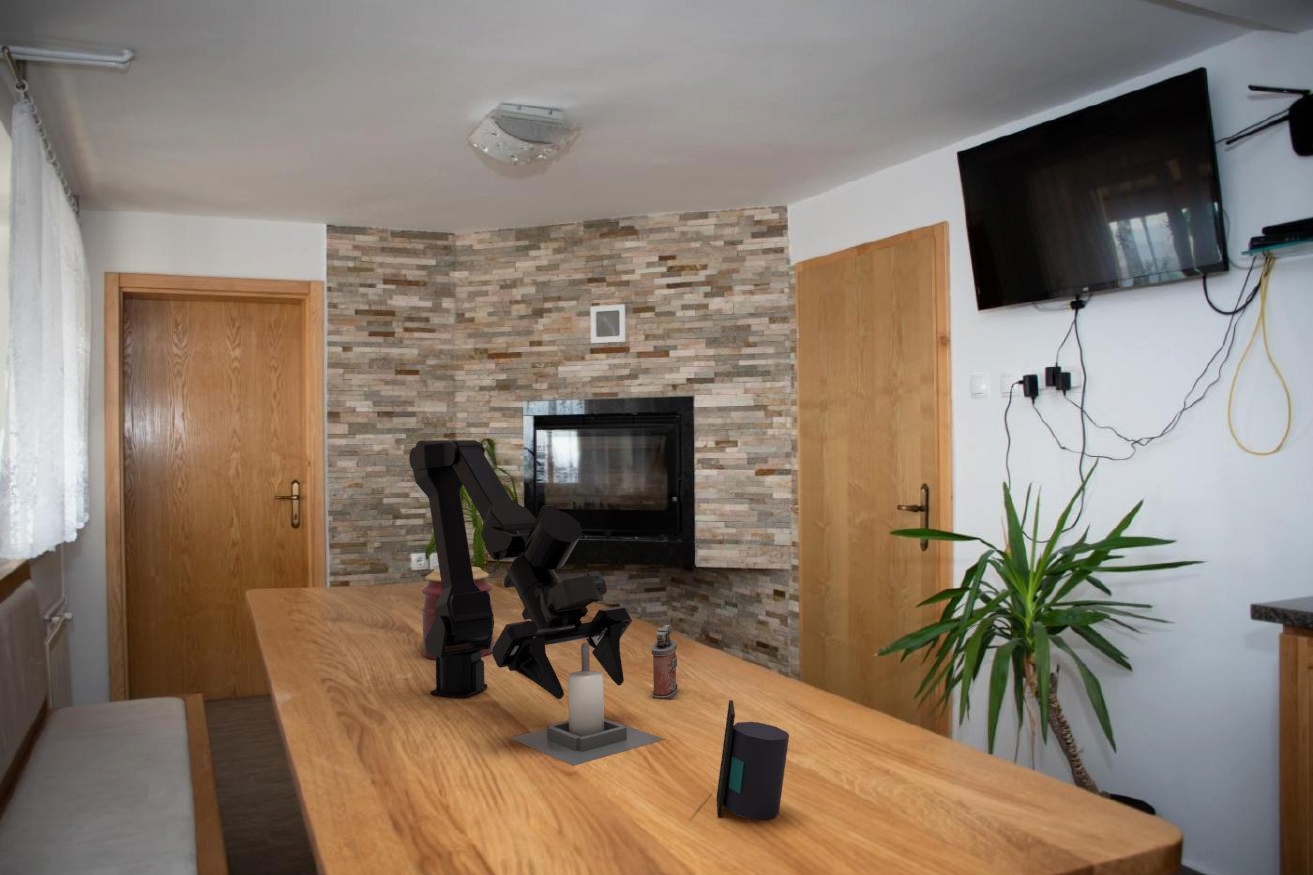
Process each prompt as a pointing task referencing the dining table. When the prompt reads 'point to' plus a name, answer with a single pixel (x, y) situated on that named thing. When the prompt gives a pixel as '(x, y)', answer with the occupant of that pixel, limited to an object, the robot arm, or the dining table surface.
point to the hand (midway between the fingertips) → (592, 690)
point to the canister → (432, 595)
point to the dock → (585, 741)
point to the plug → (586, 698)
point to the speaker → (751, 768)
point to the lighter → (664, 665)
